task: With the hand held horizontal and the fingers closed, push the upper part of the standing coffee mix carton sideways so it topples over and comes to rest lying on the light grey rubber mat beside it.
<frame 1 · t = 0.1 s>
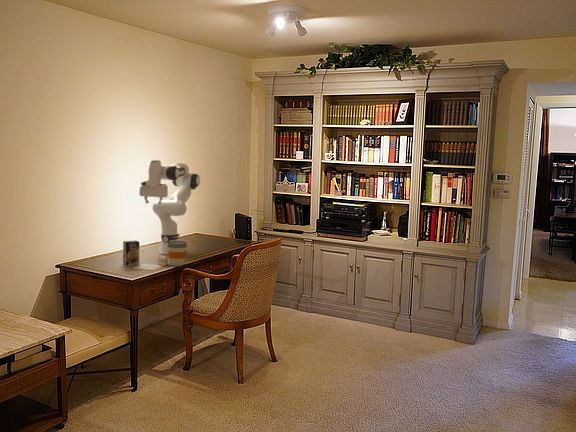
hand: (153, 203, 362), 39 cm above the table, tool pointing down, fingers open, 8 cm apart
reusable coffee cup: (176, 264, 352), on the table
grey mat: (148, 267, 342), on the table
coffee box: (131, 265, 346), on the table
maple block: (162, 264, 351), on the table
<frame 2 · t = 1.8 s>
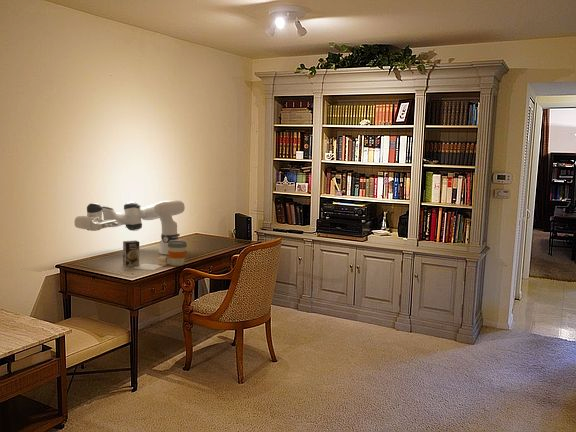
hand: (114, 225, 346), 26 cm above the table, tool horizontal, fingers open, 5 cm apart
nothing on the table moved.
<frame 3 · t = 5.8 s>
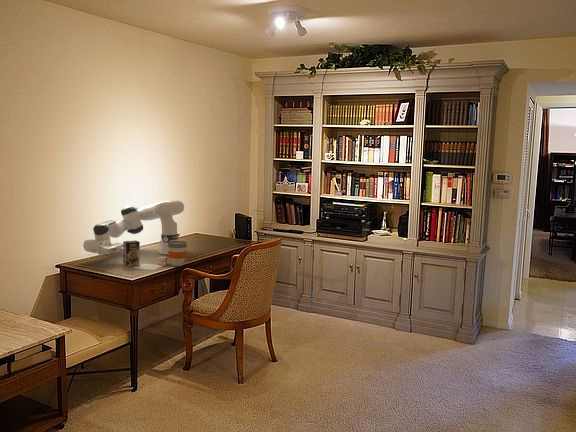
hand: (123, 249, 345), 11 cm above the table, tool horizontal, fingers closed
coffee box: (131, 265, 346), on the table, touching gripper
everything else where it was.
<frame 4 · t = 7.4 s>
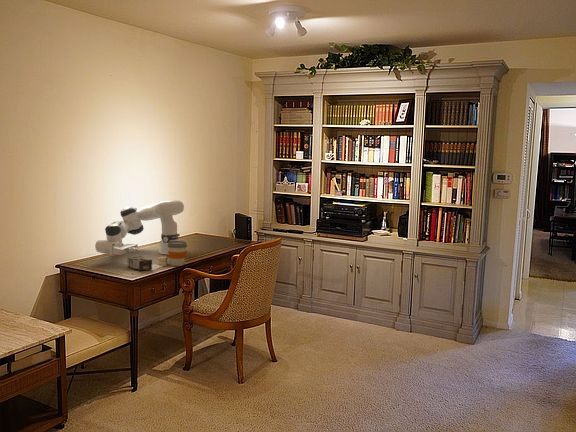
hand: (136, 249, 343), 11 cm above the table, tool horizontal, fingers closed
coffee box: (133, 261, 343), point 3 cm above the table, touching grey mat
everything else where it was.
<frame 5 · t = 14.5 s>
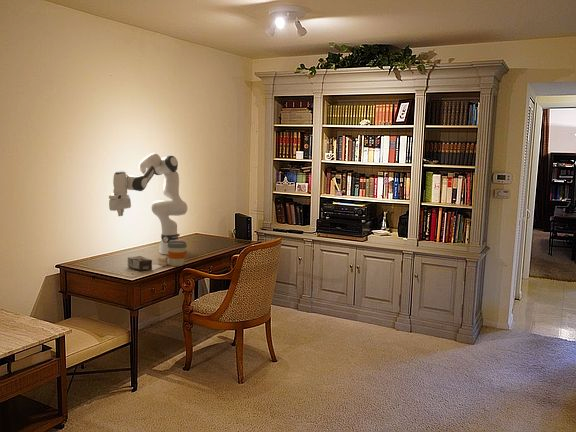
hand: (120, 216, 353), 31 cm above the table, tool pointing down, fingers closed
nothing on the table moved.
at the end: coffee box tilted 90°; coffee box inside the target area (5.9 cm from its centre), point 3.5 cm above the table; the gripper is holding nothing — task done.
